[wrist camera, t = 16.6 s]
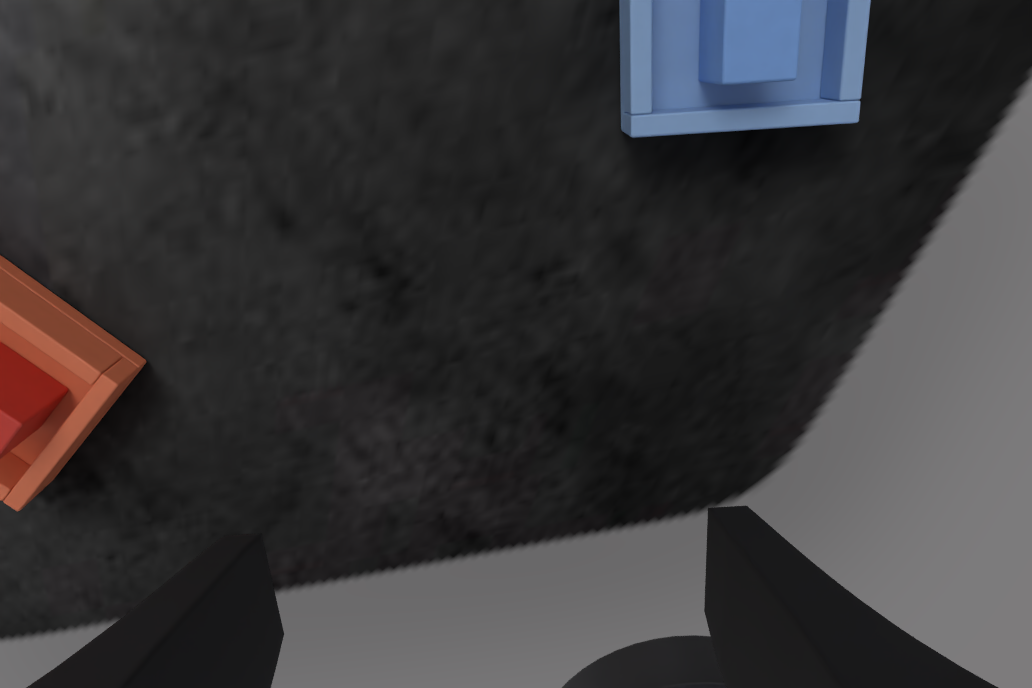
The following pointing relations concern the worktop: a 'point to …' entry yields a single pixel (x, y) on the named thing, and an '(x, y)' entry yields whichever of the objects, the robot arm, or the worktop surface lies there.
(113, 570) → the worktop surface
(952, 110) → the worktop surface
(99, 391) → the orange tray
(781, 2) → the blue spoon
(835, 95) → the blue rest
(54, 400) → the red spoon
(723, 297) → the worktop surface
